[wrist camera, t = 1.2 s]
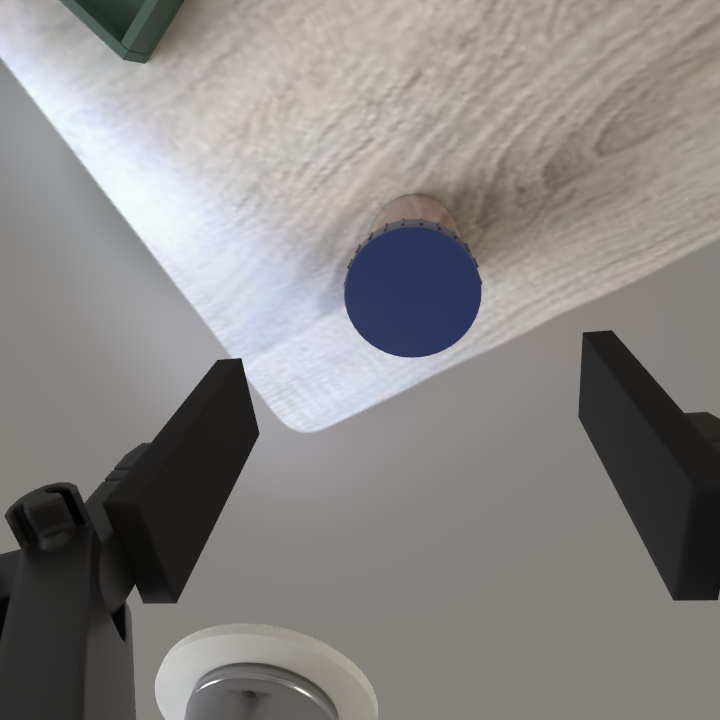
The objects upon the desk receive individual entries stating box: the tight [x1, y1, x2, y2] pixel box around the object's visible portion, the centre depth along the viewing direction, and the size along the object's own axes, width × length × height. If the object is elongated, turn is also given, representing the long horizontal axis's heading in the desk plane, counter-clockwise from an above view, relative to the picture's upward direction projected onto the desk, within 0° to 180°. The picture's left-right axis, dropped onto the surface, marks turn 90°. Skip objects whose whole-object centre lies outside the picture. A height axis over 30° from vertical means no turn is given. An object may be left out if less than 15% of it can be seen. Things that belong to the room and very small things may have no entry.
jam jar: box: [367, 195, 462, 240], centre depth 29 cm, size 6×6×11 cm
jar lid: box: [344, 217, 482, 357], centre depth 24 cm, size 6×6×2 cm
